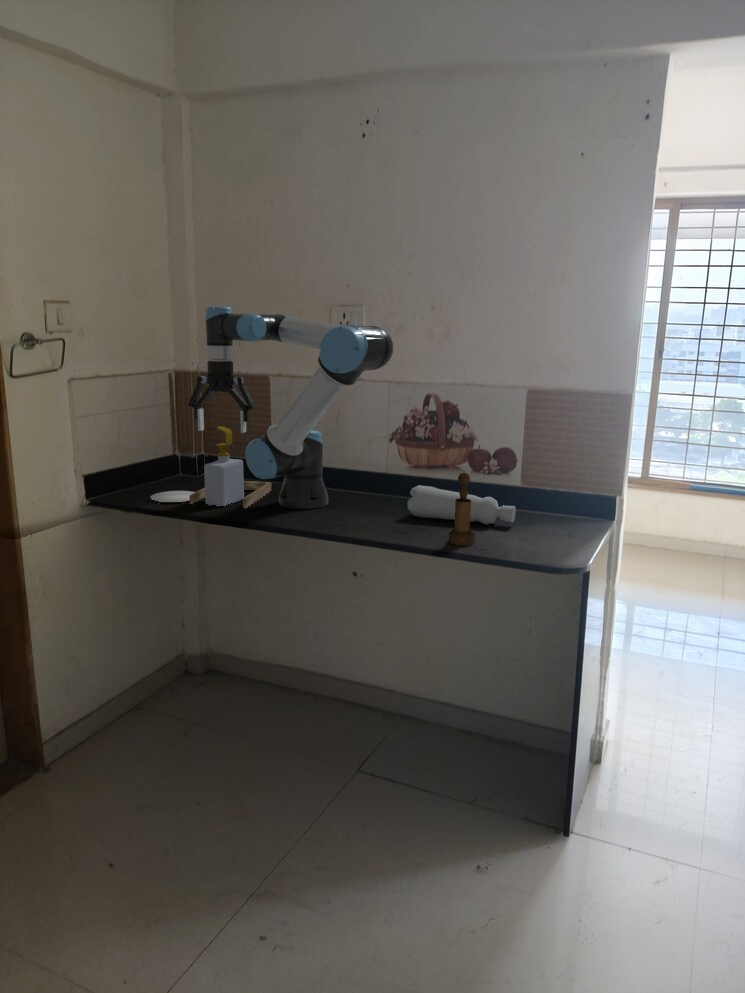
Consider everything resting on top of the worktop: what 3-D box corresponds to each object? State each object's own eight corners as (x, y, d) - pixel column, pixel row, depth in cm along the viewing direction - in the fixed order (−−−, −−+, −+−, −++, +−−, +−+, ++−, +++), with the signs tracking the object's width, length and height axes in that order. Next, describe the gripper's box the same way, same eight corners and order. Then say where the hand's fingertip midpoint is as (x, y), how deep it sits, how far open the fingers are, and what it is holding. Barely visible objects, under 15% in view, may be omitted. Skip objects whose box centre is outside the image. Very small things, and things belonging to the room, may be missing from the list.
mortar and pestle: (476, 545, 193) (479, 475, 189) (451, 546, 193) (453, 476, 189) (471, 538, 200) (474, 470, 196) (446, 538, 199) (449, 470, 195)
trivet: (207, 494, 246) (207, 492, 246) (187, 505, 231) (187, 502, 231) (163, 492, 249) (163, 489, 248) (141, 502, 234) (141, 500, 234)
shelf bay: (271, 491, 251) (271, 482, 251) (246, 508, 228) (245, 498, 228) (220, 488, 255) (219, 479, 254) (189, 504, 232) (189, 495, 231)
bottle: (403, 508, 217) (508, 524, 205) (411, 479, 219) (514, 493, 208) (412, 520, 225) (512, 535, 213) (419, 491, 227) (519, 505, 216)
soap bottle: (227, 497, 243) (224, 423, 237) (245, 499, 240) (242, 425, 235) (204, 505, 232) (201, 428, 226) (223, 507, 229) (220, 430, 224)
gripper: (264, 360, 228) (265, 431, 232) (186, 358, 232) (188, 427, 237) (256, 361, 220) (257, 434, 225) (175, 359, 225) (178, 431, 230)
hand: (222, 431), depth 231 cm, fingers open, 13 cm apart
